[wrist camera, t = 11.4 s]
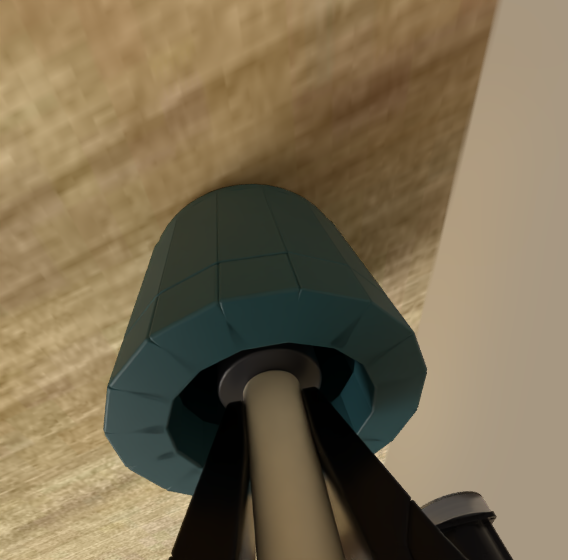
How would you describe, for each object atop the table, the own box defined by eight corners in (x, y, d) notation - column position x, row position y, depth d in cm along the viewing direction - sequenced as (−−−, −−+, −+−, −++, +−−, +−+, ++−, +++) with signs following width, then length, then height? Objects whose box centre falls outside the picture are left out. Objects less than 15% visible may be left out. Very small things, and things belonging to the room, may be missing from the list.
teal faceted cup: (344, 171, 12) (457, 264, 7) (338, 329, 17) (403, 467, 11) (125, 197, 12) (33, 329, 6) (180, 357, 16) (159, 521, 10)
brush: (293, 264, 12) (468, 715, 4) (297, 326, 14) (423, 732, 5) (210, 277, 12) (195, 800, 3) (224, 339, 13) (237, 791, 5)
